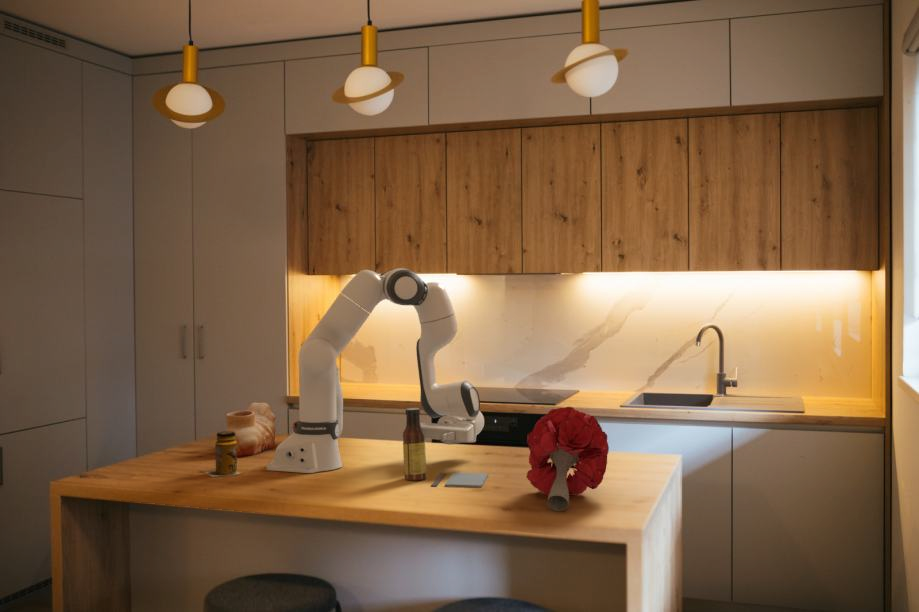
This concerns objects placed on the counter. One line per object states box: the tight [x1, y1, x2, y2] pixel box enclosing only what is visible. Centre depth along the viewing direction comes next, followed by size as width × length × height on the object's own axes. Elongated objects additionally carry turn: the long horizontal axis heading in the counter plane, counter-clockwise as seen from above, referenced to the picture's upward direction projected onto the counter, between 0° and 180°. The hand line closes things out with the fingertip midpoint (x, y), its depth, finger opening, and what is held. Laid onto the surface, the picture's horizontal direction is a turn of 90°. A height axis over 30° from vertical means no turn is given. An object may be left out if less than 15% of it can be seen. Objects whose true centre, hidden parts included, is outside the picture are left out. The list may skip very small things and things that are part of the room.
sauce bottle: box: [402, 407, 427, 482], centre depth 246 cm, size 7×6×20 cm
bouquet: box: [526, 406, 610, 512], centre depth 222 cm, size 22×24×30 cm
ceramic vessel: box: [225, 402, 277, 458], centre depth 291 cm, size 14×26×15 cm, turn 167°
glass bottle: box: [336, 365, 344, 439], centre depth 306 cm, size 10×10×28 cm
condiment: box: [205, 430, 242, 478], centre depth 255 cm, size 7×8×12 cm
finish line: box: [430, 472, 447, 487], centre depth 245 cm, size 2×16×1 cm, turn 171°
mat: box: [444, 472, 489, 488], centre depth 244 cm, size 10×15×1 cm, turn 171°
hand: (427, 436), depth 253 cm, fingers open, 8 cm apart
